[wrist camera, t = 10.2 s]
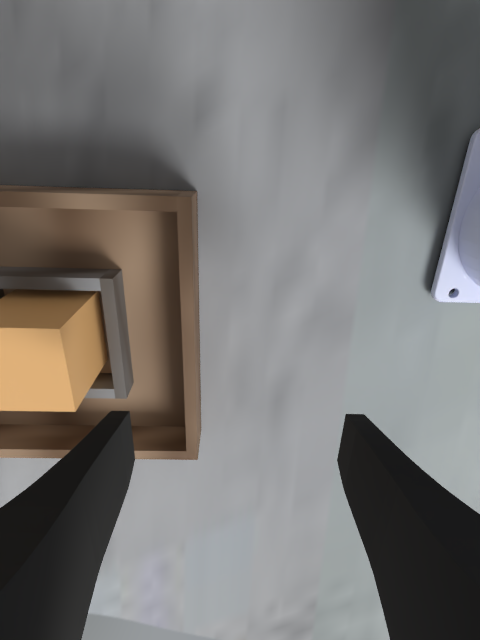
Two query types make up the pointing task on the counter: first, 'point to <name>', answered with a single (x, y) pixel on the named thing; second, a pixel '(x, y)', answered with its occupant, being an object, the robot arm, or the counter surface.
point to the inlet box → (113, 309)
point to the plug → (49, 348)
